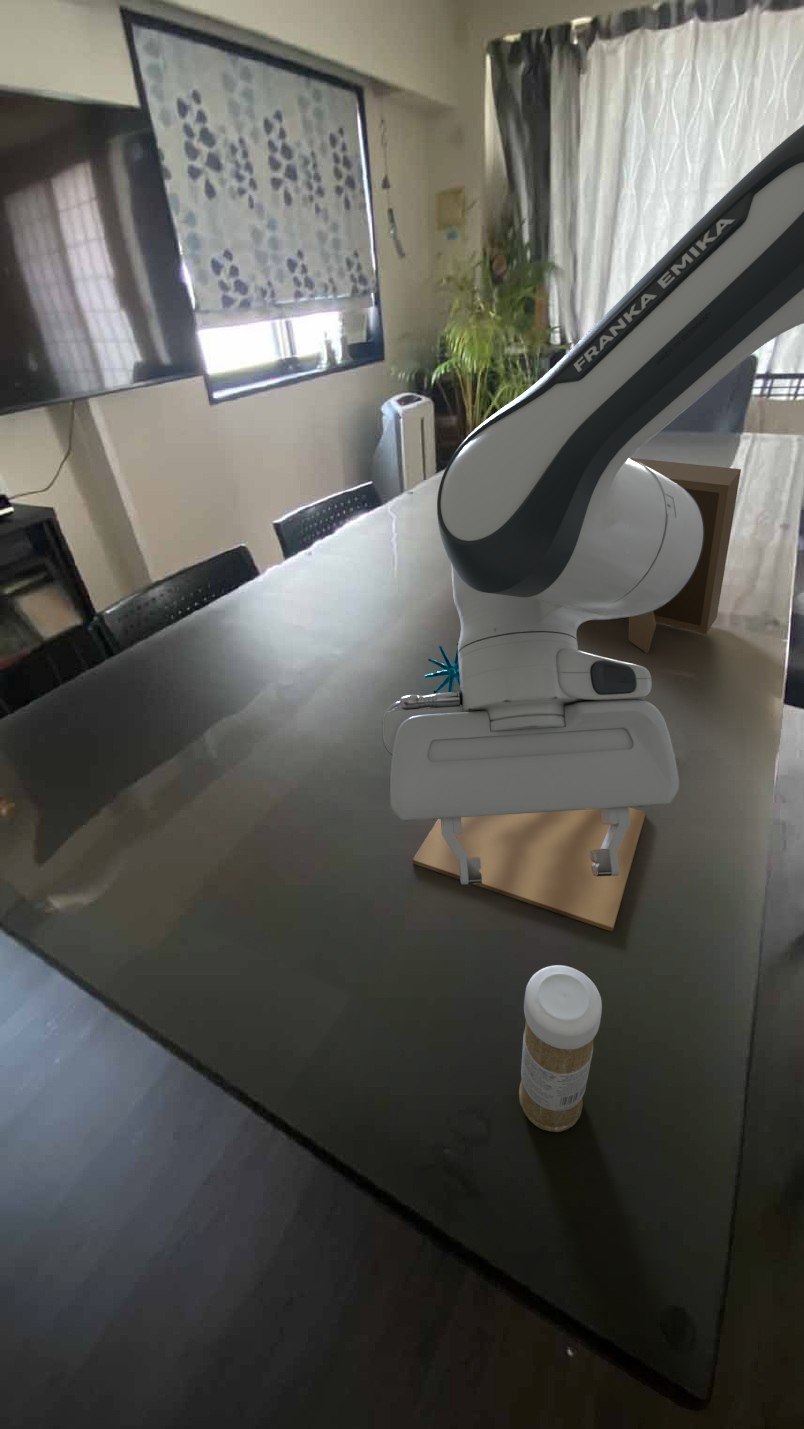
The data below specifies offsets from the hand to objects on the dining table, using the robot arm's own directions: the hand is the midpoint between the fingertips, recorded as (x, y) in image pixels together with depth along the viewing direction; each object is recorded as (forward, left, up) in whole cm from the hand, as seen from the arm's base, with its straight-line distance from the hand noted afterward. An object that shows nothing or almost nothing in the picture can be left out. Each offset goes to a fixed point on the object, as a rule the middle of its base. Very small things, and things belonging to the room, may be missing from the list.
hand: (538, 879), depth 45 cm
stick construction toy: (+22, -41, -14) cm, 48 cm away
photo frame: (+5, -68, -14) cm, 69 cm away
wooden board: (+5, -17, -14) cm, 22 cm away
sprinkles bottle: (-4, +7, -14) cm, 17 cm away
